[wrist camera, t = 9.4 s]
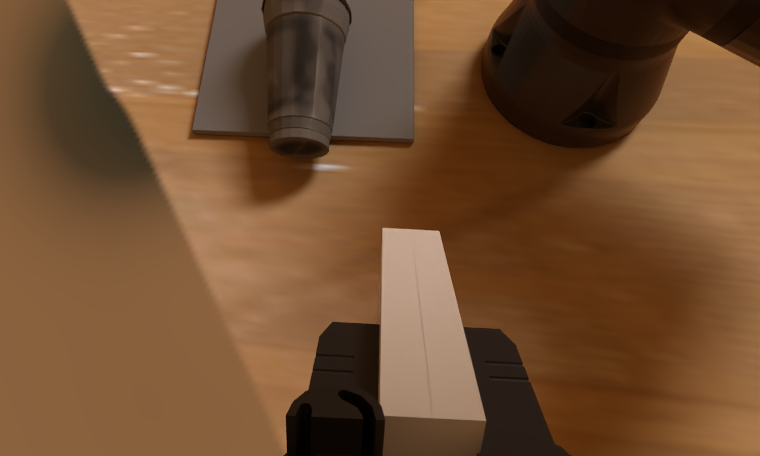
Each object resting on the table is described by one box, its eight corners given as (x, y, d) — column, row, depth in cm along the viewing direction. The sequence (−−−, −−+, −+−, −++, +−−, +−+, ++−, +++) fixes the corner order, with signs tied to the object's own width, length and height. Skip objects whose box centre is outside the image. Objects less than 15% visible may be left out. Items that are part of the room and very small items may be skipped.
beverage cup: (233, 130, 34) (255, -109, 38) (269, 165, 41) (284, -39, 45) (336, 127, 33) (347, -117, 37) (354, 163, 40) (361, -45, 44)
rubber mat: (238, -100, 50) (237, -106, 50) (412, -90, 51) (413, -96, 50) (194, 133, 40) (192, 129, 39) (413, 142, 40) (414, 139, 40)
